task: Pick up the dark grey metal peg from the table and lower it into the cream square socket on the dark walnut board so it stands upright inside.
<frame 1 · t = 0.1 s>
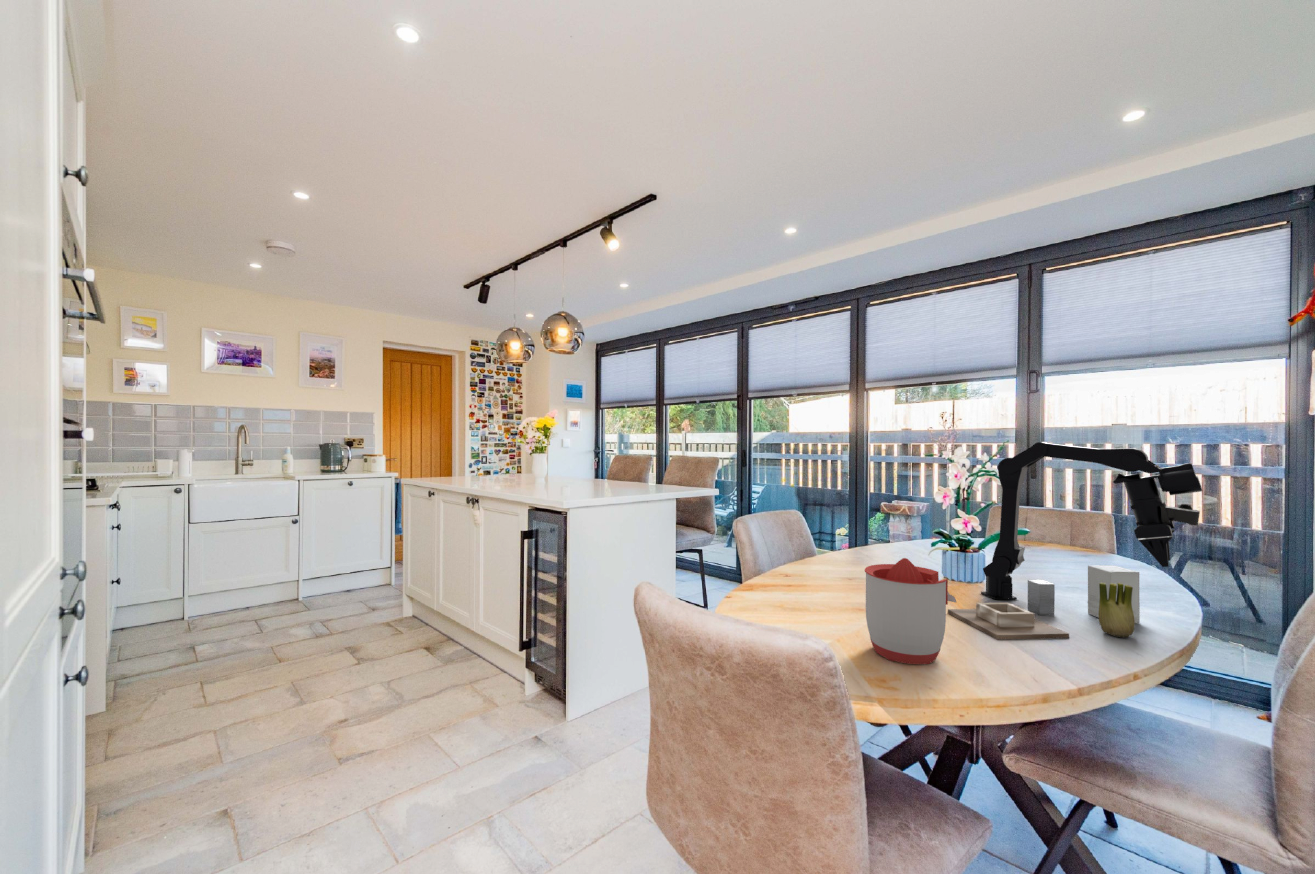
hand: (1166, 563, 127), 15 cm above the table, tool pointing down, fingers open, 9 cm apart
socket board: (1004, 624, 129), on the table
fennel bulb: (1116, 636, 122), on the table
metal peg: (1040, 612, 138), on the table
citrus juicer: (908, 655, 110), on the table
supplement box: (1112, 619, 134), on the table
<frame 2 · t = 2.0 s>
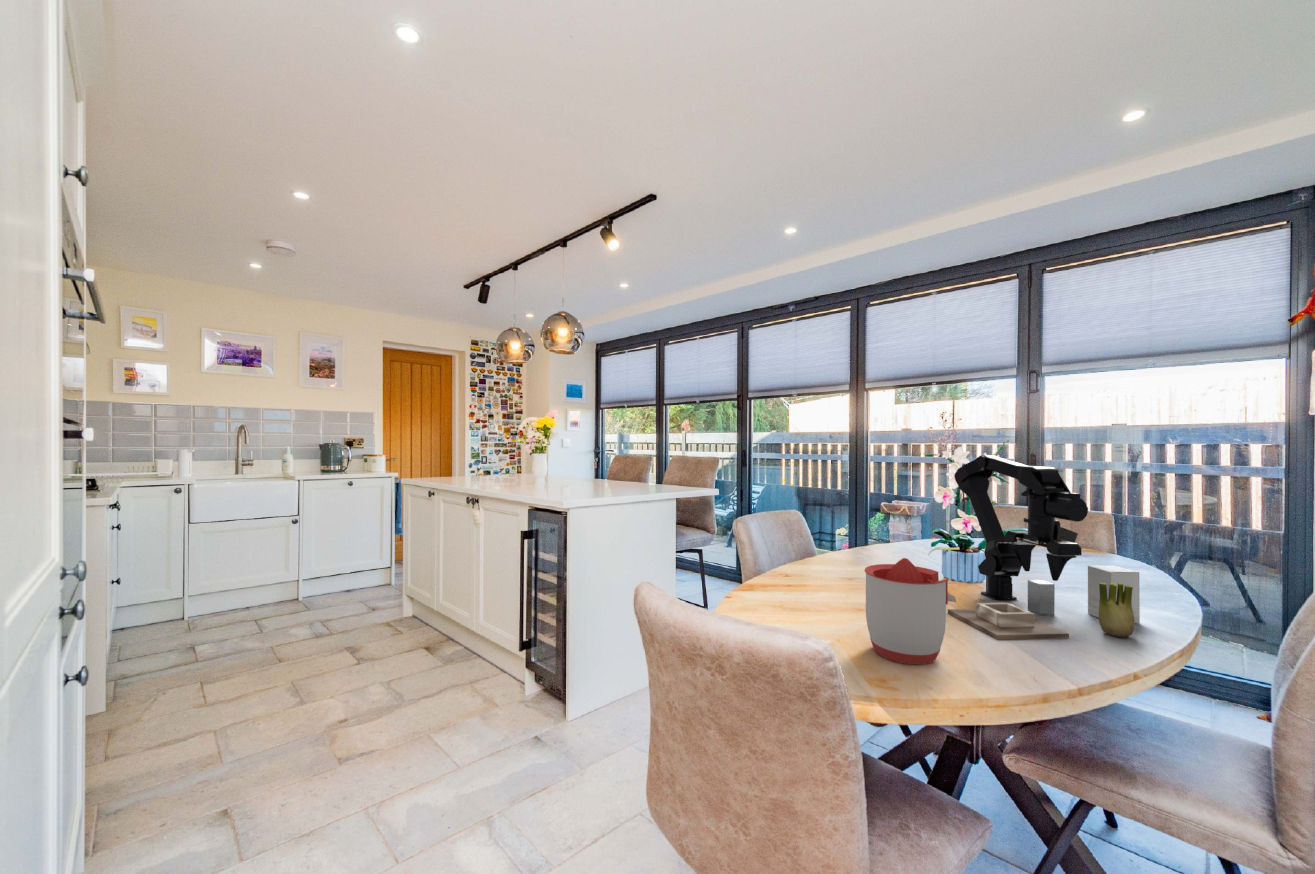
hand: (1040, 575, 138), 10 cm above the table, tool pointing down, fingers open, 9 cm apart
nothing on the table moved.
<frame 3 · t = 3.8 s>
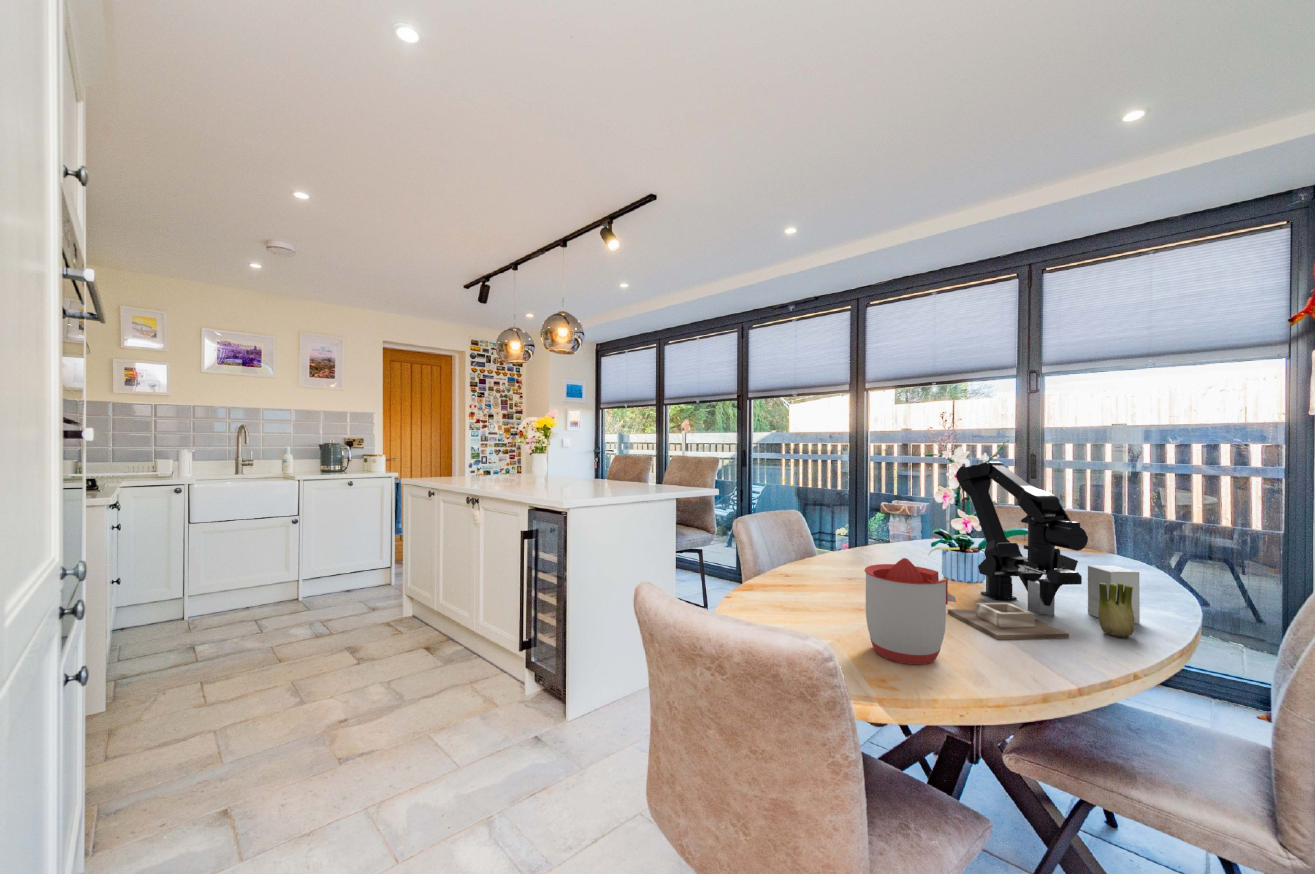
hand: (1040, 602, 138), 3 cm above the table, tool pointing down, fingers closed on metal peg, 4 cm apart
metal peg: (1040, 612, 138), on the table, touching gripper
everything else where it was.
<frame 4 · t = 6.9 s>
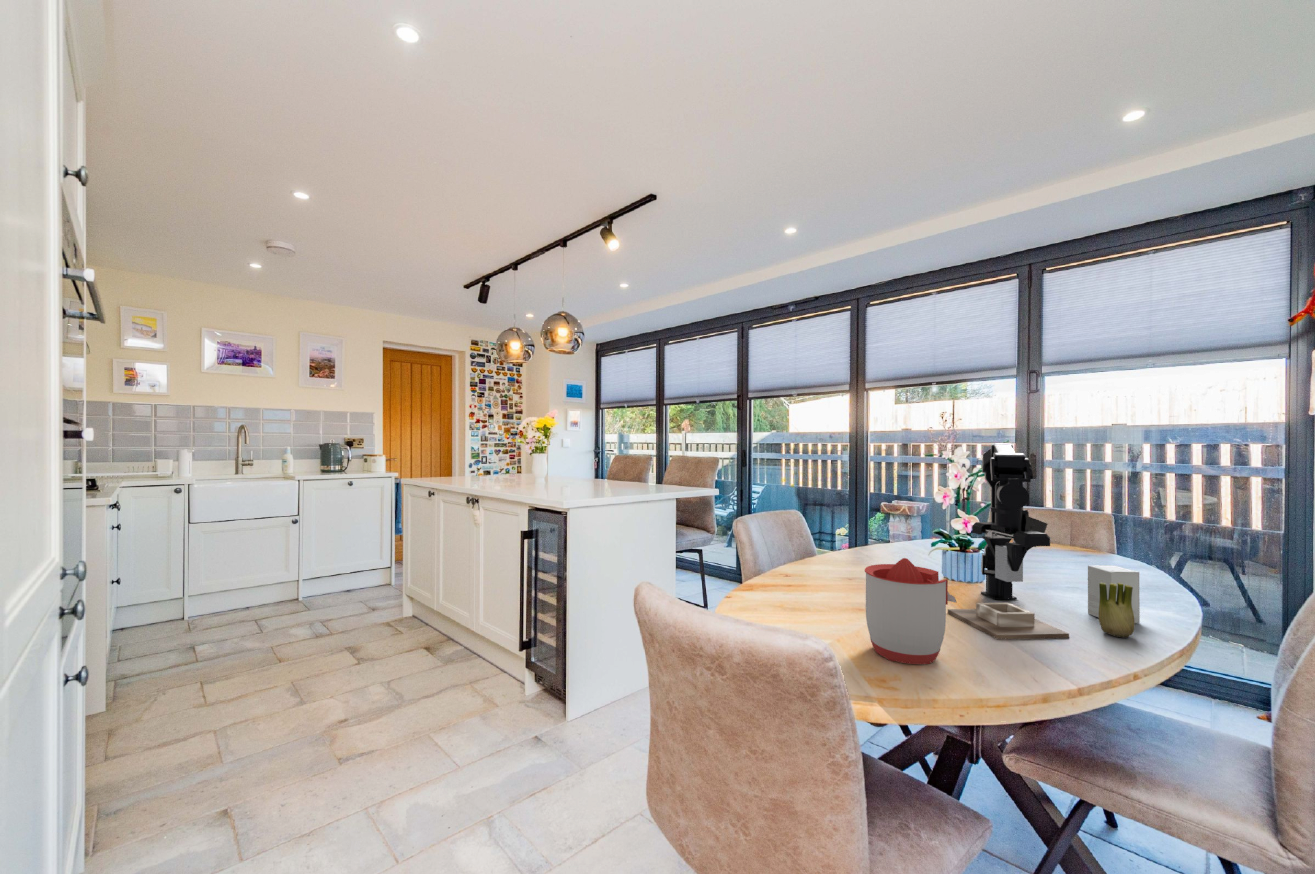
hand: (1008, 569, 129), 13 cm above the table, tool pointing down, fingers closed on metal peg, 4 cm apart
metal peg: (1008, 579, 129), point 11 cm above the table, touching gripper
everything else where it was.
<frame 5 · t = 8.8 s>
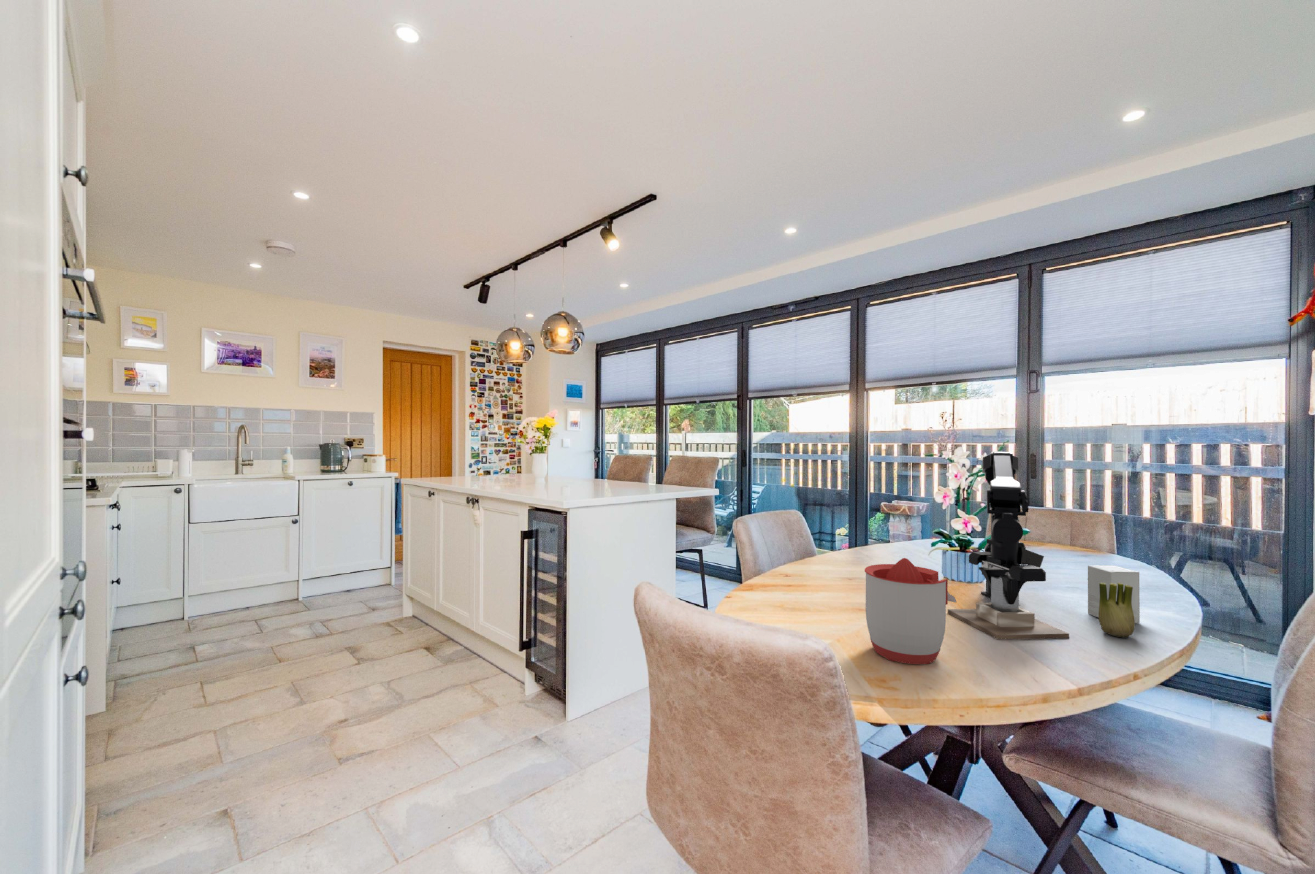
hand: (1004, 601, 129), 6 cm above the table, tool pointing down, fingers closed on metal peg, 4 cm apart
metal peg: (1004, 611, 129), point 3 cm above the table, touching gripper
everything else where it was.
when the fingers open (5 cm above the table, at t = 10.0 s): metal peg drops 1 cm, resting on socket board.
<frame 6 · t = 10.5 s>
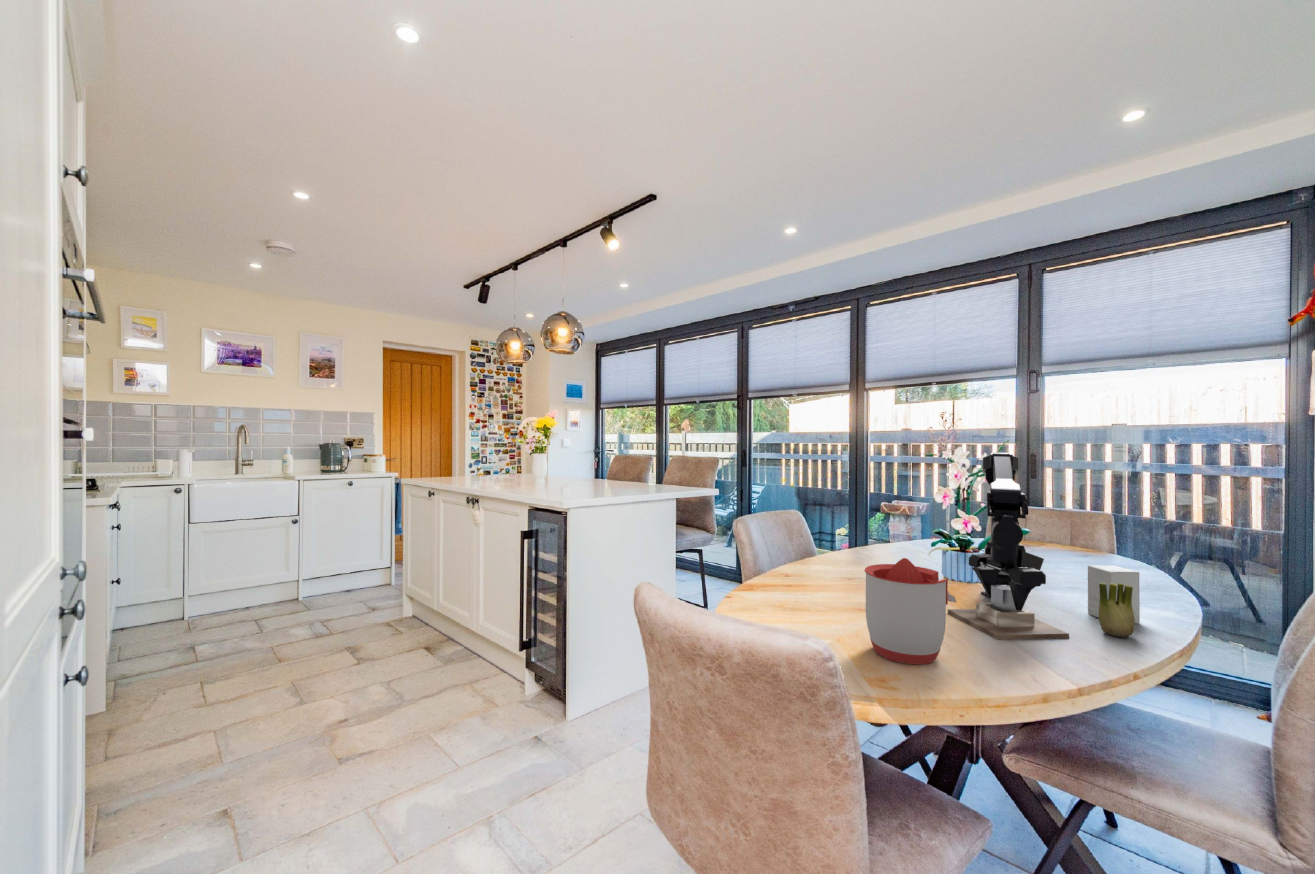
hand: (1004, 603, 129), 5 cm above the table, tool pointing down, fingers open, 9 cm apart
metal peg: (1004, 620, 129), point 1 cm above the table, touching socket board
everything else where it was.
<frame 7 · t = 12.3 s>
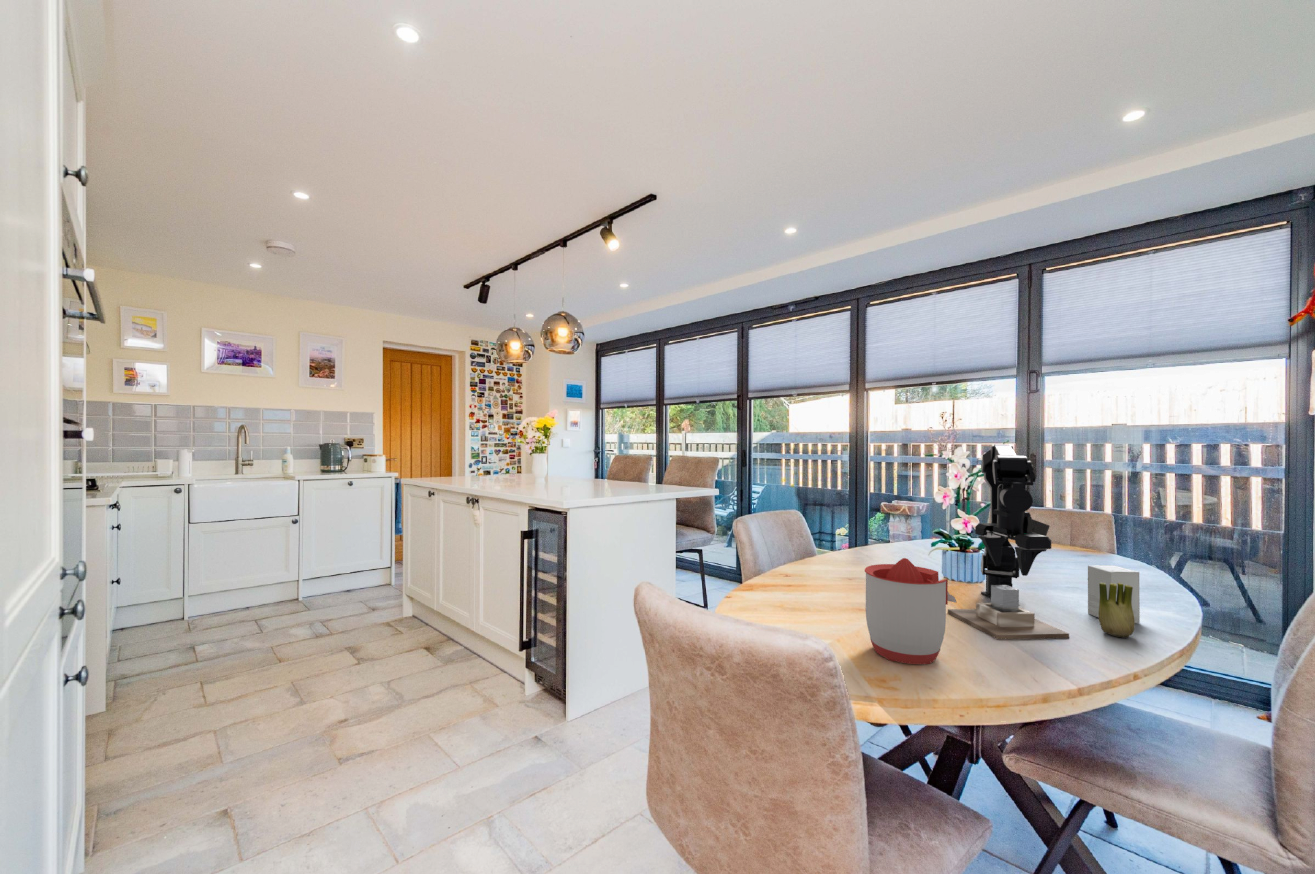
hand: (1010, 570, 131), 13 cm above the table, tool pointing down, fingers open, 9 cm apart
nothing on the table moved.
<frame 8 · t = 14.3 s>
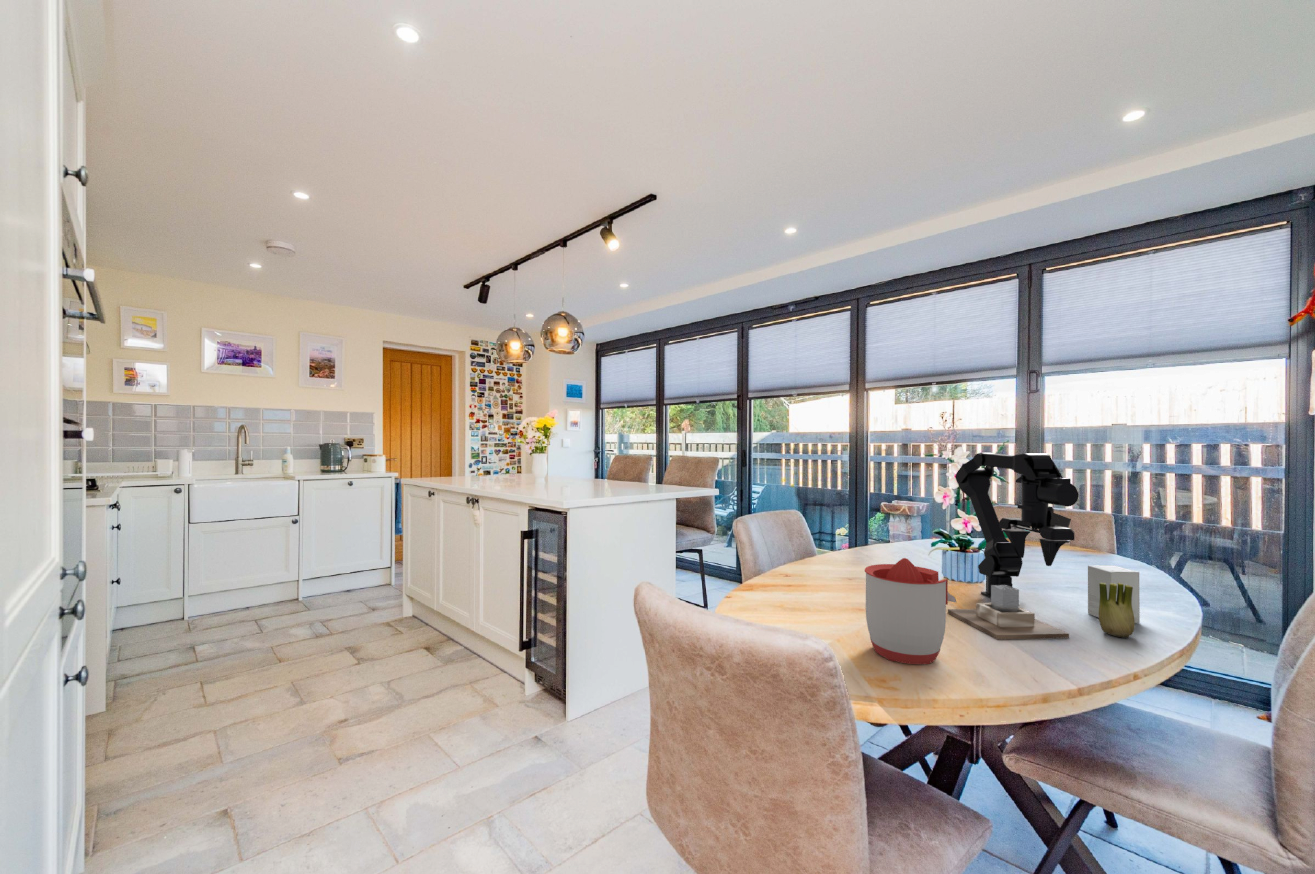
hand: (1034, 561, 139), 13 cm above the table, tool pointing down, fingers open, 9 cm apart
nothing on the table moved.
at the end: metal peg 0.1 cm off-centre on the socket board, point 1.0 cm above the socket board's base; metal peg tilted 0°; the gripper is holding nothing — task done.
